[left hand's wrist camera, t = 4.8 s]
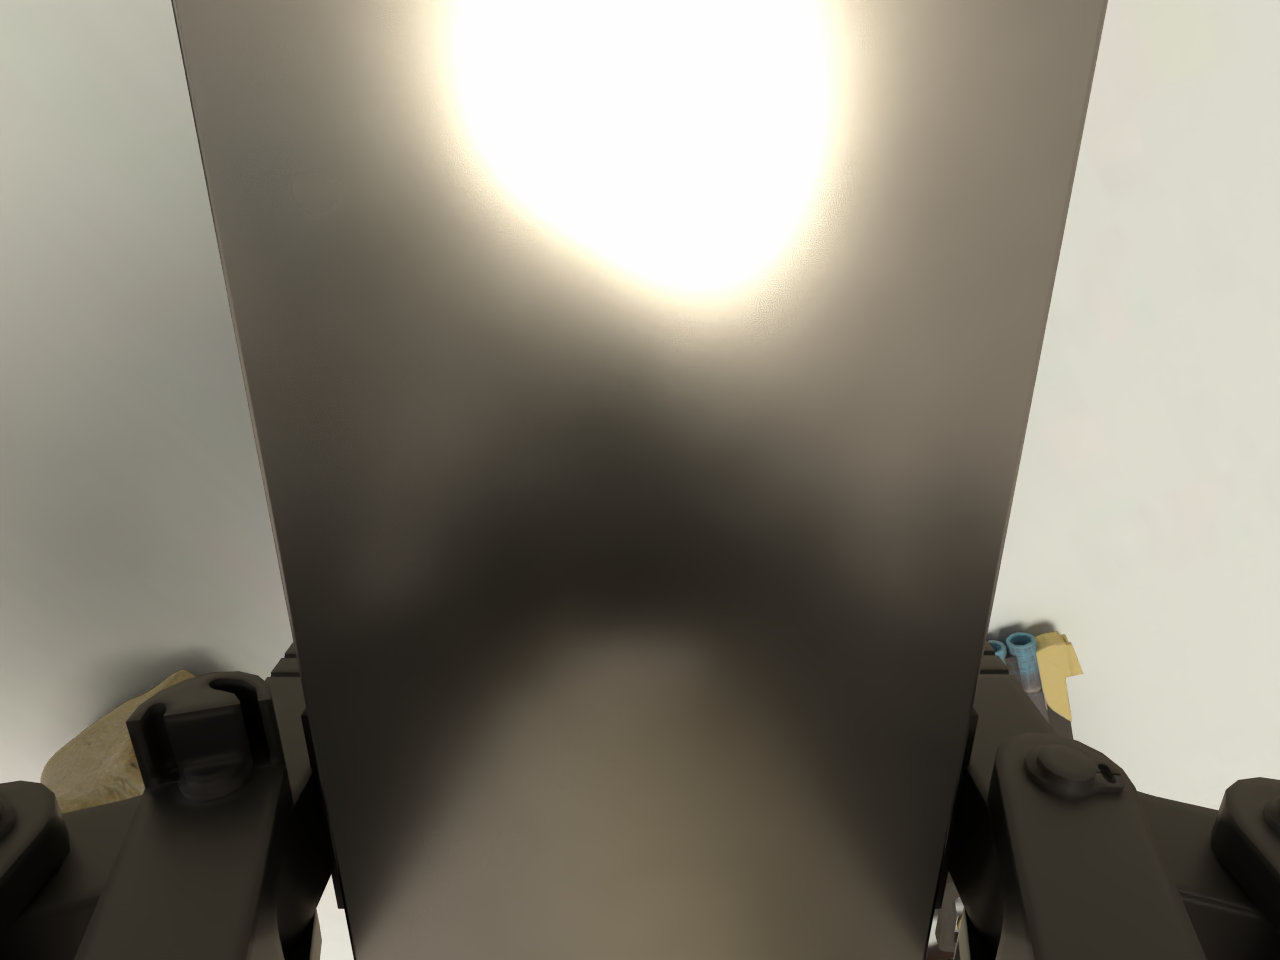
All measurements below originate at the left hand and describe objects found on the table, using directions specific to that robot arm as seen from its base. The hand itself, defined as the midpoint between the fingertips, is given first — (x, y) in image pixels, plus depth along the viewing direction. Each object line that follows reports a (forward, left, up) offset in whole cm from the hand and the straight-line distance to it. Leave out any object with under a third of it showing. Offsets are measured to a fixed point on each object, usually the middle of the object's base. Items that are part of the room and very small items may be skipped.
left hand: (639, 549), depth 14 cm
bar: (-2, +9, -1) cm, 9 cm away
